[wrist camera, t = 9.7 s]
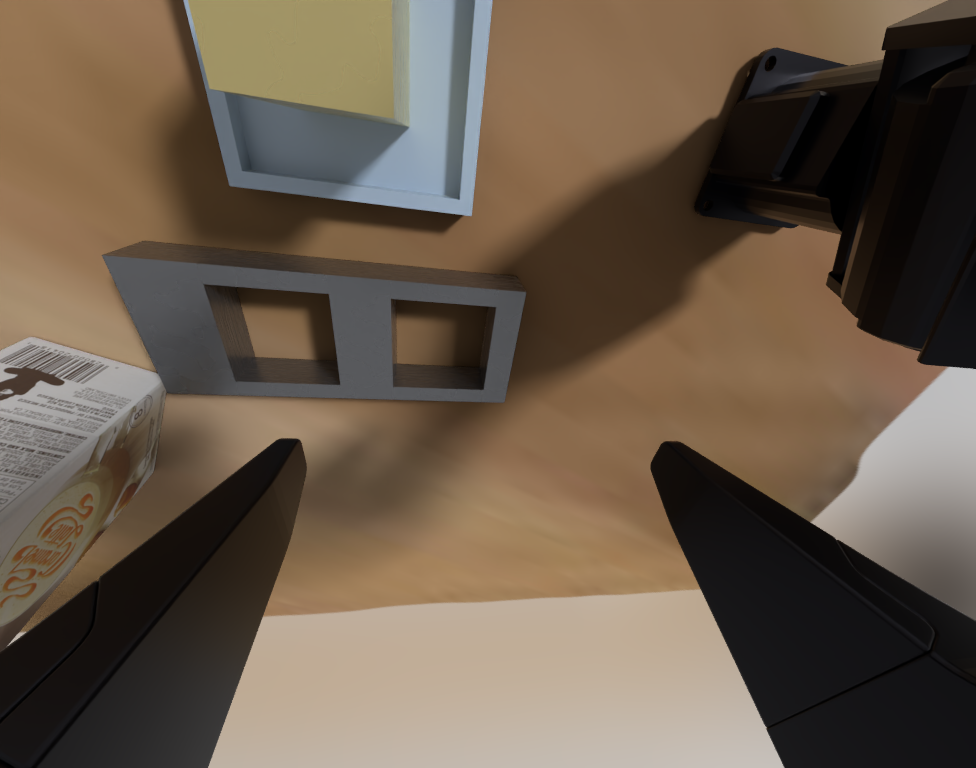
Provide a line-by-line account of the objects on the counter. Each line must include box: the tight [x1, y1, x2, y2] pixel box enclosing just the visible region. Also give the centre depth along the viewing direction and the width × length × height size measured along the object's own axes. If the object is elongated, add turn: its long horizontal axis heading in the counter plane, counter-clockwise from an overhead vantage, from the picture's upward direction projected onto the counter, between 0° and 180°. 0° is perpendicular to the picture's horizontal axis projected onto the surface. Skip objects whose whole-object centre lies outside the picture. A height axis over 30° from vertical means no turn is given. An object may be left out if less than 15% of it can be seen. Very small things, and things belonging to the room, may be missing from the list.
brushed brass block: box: [188, 0, 410, 127], centre depth 10 cm, size 4×4×7 cm
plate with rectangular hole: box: [102, 241, 526, 403], centre depth 19 cm, size 18×7×2 cm, turn 83°
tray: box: [184, 0, 493, 216], centre depth 13 cm, size 10×10×2 cm
